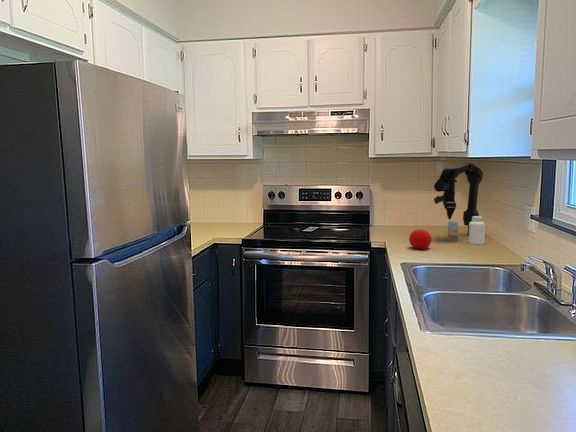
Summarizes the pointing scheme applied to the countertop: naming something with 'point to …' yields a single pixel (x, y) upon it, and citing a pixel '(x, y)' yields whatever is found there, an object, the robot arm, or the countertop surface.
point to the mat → (451, 241)
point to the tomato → (420, 239)
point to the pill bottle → (476, 230)
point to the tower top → (452, 231)
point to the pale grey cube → (452, 224)
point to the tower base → (452, 237)
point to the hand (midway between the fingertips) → (449, 218)
